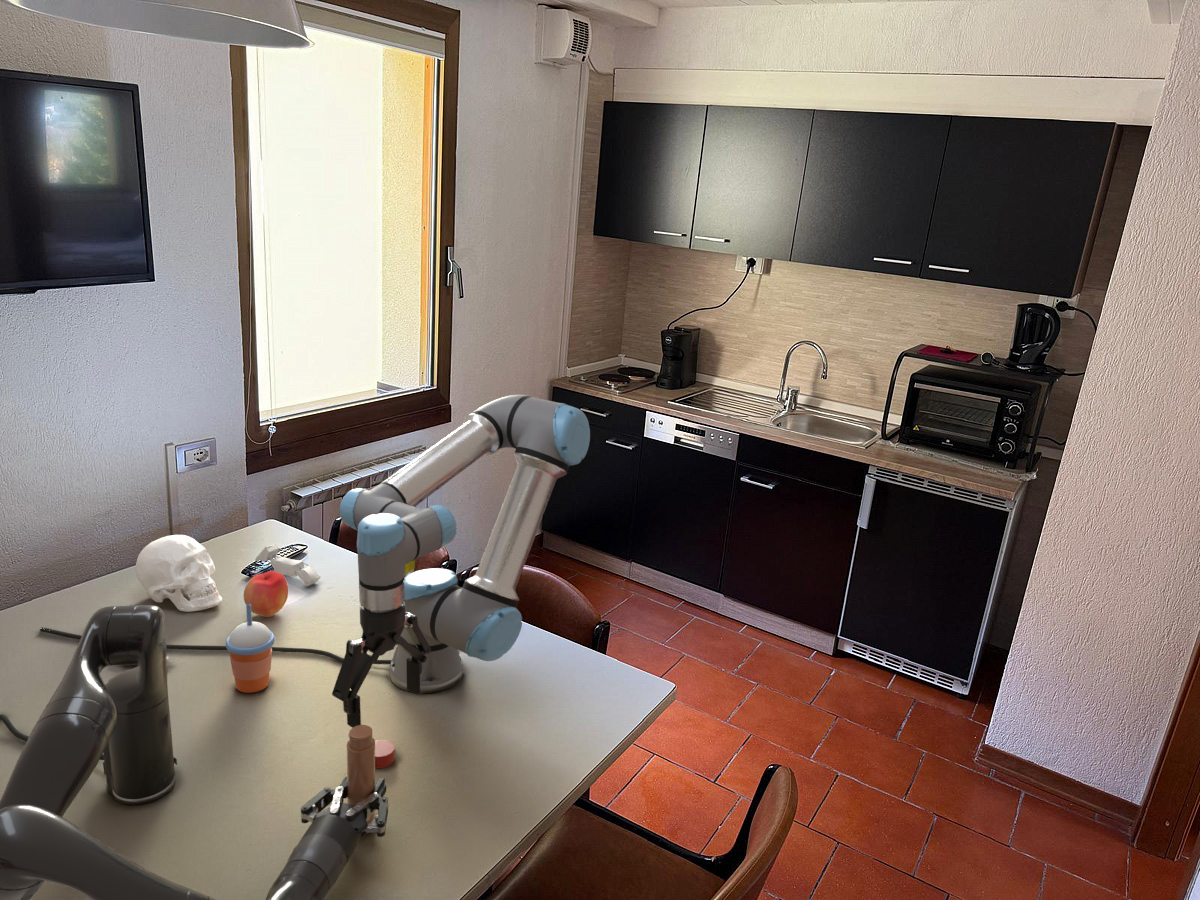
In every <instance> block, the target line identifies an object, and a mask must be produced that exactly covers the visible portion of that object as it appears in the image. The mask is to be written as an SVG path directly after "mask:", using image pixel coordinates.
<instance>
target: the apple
mask: <svg viewBox="0 0 1200 900" xmlns="http://www.w3.org/2000/svg"><path fill="white" fill-rule="evenodd" d="M288 597H289V584H288V581H287V579H286V577H285V575H282V574H281V573H278V572H275V571H268V570H267V571H266V572H264V573H259V574H255V575H254V576H253V577H251V578H250V579H249V580H248V582H247V583H246V585H245V587H244V590H243V601H244V604H245V606H246V605H247V604H251V613H253V614H255V615H257V616H261V617H265V618H269V617H273V616H275V615H276V614H278V613H279V612H280V611H281V610H282V609H283V607H284V606H285V605H286V603H287V600H288Z"/></svg>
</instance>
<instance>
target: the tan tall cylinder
mask: <svg viewBox="0 0 1200 900" xmlns="http://www.w3.org/2000/svg"><path fill="white" fill-rule="evenodd" d="M375 741H376V740H375V739H374V738H373V728H372V727H371V726H369V725H367V724H361V725H357V726H355V727H353V728H352V727H351V729H350V730H349V731H348V741H347V742H346V776H347V798H346V800H347V803H346V804H348V805H356V804H358V803H359V802H360V801H361V800H362V799H366V798H368V797H369V796H370V795H371V794H372V790H373V789H374V787H375V785H376V768H375ZM375 816H376V811H375V812H374V813H373V814H372V815H371V817H370V819H369V820H368V821H367V824H369V823H371V822H372V820H373V819H375Z"/></svg>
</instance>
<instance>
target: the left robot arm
mask: <svg viewBox="0 0 1200 900" xmlns="http://www.w3.org/2000/svg"><path fill="white" fill-rule="evenodd" d="M81 635H82V636H81V639H80V640H79V641H78V644H77V646H76V648H75V651H74V653H73V655H72V658H71V661H70V663H69V665H68V667H67V668H66V671H65V673H64V675H63V677H62V679H61V681H59V684H58V685H57V687H56V689H55V691H54V692H53V694H52V696H51V698H50V700H49V701H48V703H47V704H46V705H45V707H44V709H43V711H42V712H41V714H40V716H39V718H38V720H37V721H36V722H35V725H34V726H33V728H32V730H31V732H30V734H29V735H26V734H24V733H22V732H21V731H19V730H18V729H17V728H16V727H15V726H14V725H13V723H12V721H10V719H9V718H8V716H7V715H5V714H0V720H1V721H2V722H3V724H4V725H5V726H6V728H7V730H9V732H10V734H12V735H13V736H15V738H17V739H19V740H21V741H24V742H25V744H24V745H23V747H22V750H21V752H20V754H19V756H18V759H17V760H16V763H15V765H14V768H13V770H12V772H11V774H10V777H9V779H8V780H7V781H8V782H7V784H6V786H5V789H4V791H3V794H2V795H1V798H0V900H31V899H32V898H33V897H34V896H35V894H36V893H37V892H38V891H39V889H40V888H41V887H42V885H43V884H44V883H45V882H46V881H47V882H50V883H55V884H58V885H61V886H65V887H68V888H70V889H73V890H75V891H76V892H78V893H80V894H82V895H84V896H86V898H88V899H89V900H217V899H216V898H214V897H211V896H209V895H207V894H204V893H202V892H199V891H196V890H194V889H192V888H188V887H186V886H184V885H181V884H179V883H176V882H173V881H171V880H169V879H167V878H164V877H162V876H160V875H158V874H156V873H154V872H152V871H150V870H148V869H146V868H145V867H143V866H141V865H139V864H138V863H136V862H135V861H133V860H131V859H130V858H128V857H126V856H125V855H123V854H122V853H120V852H119V851H117V850H115V849H114V848H112V847H111V846H109V845H107V844H106V843H104V842H103V841H101V840H100V839H98V838H96V837H95V836H93V835H90V833H88V832H86V831H85V830H83V829H82V828H80V827H78V826H77V825H75V823H72V822H71V821H69V820H68V819H66V818H64V817H63V816H64V814H65V813H66V811H67V810H68V808H69V807H70V806H71V804H72V803H73V801H74V800H75V798H76V797H77V795H78V794H79V793H80V792H81V790H82V789H83V787H84V785H85V784H86V782H87V781H88V780H89V778H90V777H91V775H92V774H93V772H94V770H95V769H96V766H97V765H98V763H99V761H103V762H102V766H103V774H104V775H105V779H106V789H107V790H106V791H107V794H108V795H109V794H110V795H112V796H113V798H114V799H115V801H116V802H118V803H120V804H124V805H131V806H132V805H133V806H135V805H143V804H147V803H151V802H154V801H157V800H158V799H161V798H162V797H164V796H165V795H167V794H168V793H169V792H170V791H171V790H172V789H173V788H174V786H175V785H176V781H177V775H176V770H175V765H178V759H177V758H176V757H175V756H174V747H173V746H174V745H173V734H172V724H171V723H172V722H171V713H170V712H171V711H170V701H169V700H170V699H169V688H168V687H169V685H168V666H167V657H168V656H167V649H166V645H167V623H166V616H165V613H164V610H162V608H161V607H159V606H157V605H110V606H104V607H101V608H99V609H97V610H96V611H95V612H94V613H93V614H92V615H91V616H90V618H89V619H88V622H87V624H86V625H85V627H84V629H83V631H82V634H81ZM166 656H167V657H166ZM112 666H114V667H115V666H135V667H133V668H130V669H127V670H125V671H122V672H120V673H118V674H116V675H115V676H113V677H112V678H110V679H109V680H108V681H107V682H106V684H105V682H104V680H103V678H102V675H101V672H102V671H103V670H104V669H105V668H107V667H112ZM386 793H387V782H386V779H385V778H383V777H379V779H378V780H377V782H376V783H375V787H374V789H373V790H372V794H371V795H370V796H369V797H368V798H366V799H362V800H361V801H360V802H359V803H358V804H356V805H348V804H347V803H346V802H344V799H345V800H347V775H346V776H345V777H343V779H342V781H341V782H340V784H339V785H338V786H337V787H335V788H333V789H332V788H331V787H329V786H326V787H324V788H322V789H321V790H320V791H319V792H318V793H316V794H315V795H314V796H313V797H311V798H310V799H309V800H307V802H305V803H304V804H303V805H301V807H300V818H301V819H300V821H301V823H302V824H308V823H309V822H310V825H309V826H308V828H307V830H306V831H305V833H304V834H303V835H302V837H301V838H300V839H299V842H298V843H297V844H296V845H295V846H294V848H293V849H292V852H291V853H290V854H289V857H288V859H287V861H286V863H285V865H284V867H283V869H282V870H281V871H280V873H279V874H278V876H277V877H276V879H275V880H274V882H273V884H272V885H271V887H270V888H269V890H268V891H267V894H266V897H265V900H324V899H325V897H326V896H327V894H328V893H329V892H330V890H331V889H332V887H333V886H334V885H335V884H336V883H337V881H338V879H339V877H340V876H341V874H342V872H343V871H344V868H345V867H346V865H347V864H348V862H349V860H350V858H351V857H352V855H353V854H354V852H355V850H356V848H357V847H358V844H359V842H360V840H361V839H363V838H364V837H365V836H366V835H367V834H373V833H376V836H377V837H379V838H382V837H384V836H385V835H386V832H387V831H386V829H387V821H388V816H389V798H388V797H387V796H385V795H386ZM330 804H331V806H330V807H328V806H329V805H330ZM376 811H378V812H377V815H375V819H373V820H372V822H371V823H369V824H367V821H368V820H369V819H370V817H371V815H372V814H373V813H374V812H375V813H376Z"/></svg>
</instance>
